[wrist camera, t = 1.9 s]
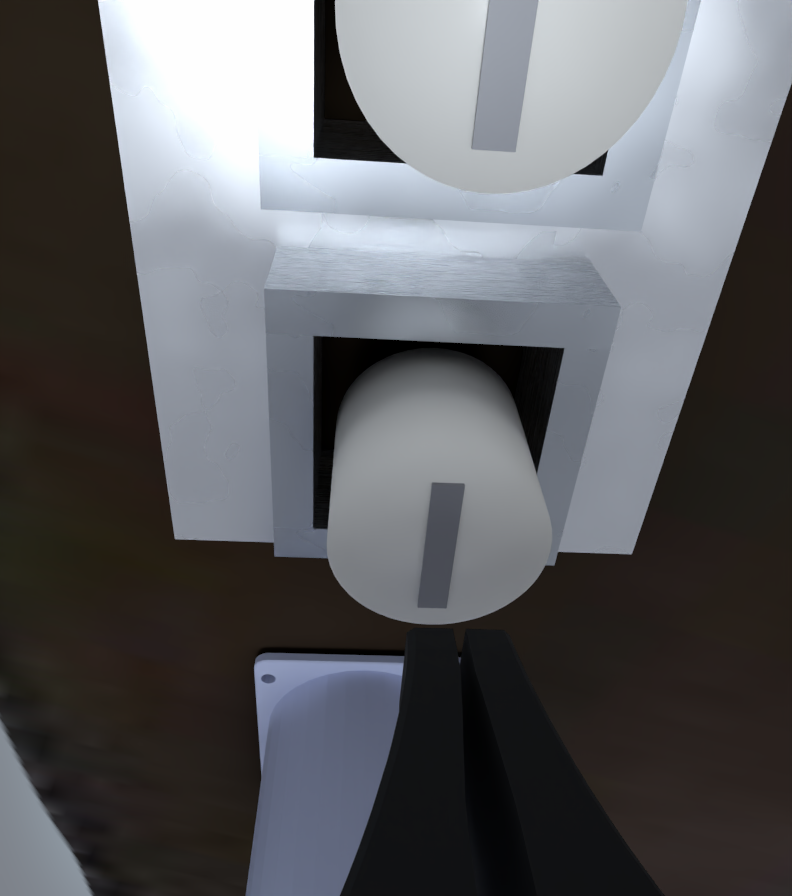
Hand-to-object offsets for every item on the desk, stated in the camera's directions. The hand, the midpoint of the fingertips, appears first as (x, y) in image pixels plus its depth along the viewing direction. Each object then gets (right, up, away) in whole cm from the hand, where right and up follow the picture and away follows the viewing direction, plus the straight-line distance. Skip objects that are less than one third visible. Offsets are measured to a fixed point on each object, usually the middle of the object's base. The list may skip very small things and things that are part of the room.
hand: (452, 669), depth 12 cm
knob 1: (0, +11, +1) cm, 11 cm away
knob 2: (0, +4, +6) cm, 7 cm away
